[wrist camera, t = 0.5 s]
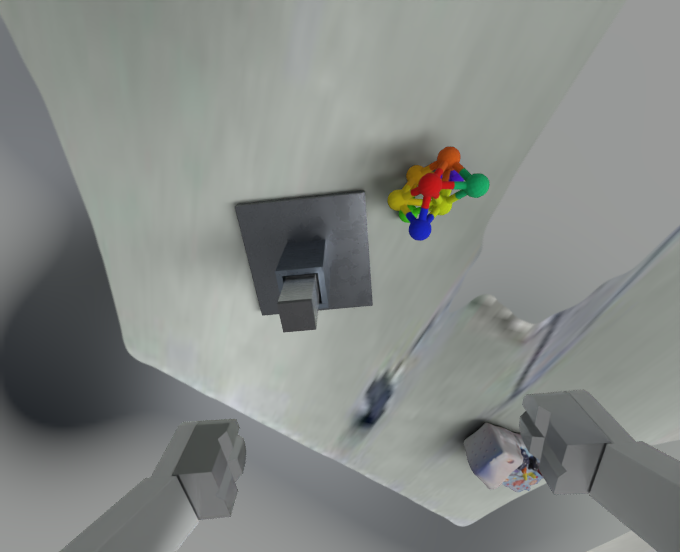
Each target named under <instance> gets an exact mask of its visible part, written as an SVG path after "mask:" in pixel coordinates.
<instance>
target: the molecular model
mask: <svg viewBox="0 0 680 552" xmlns="http://www.w3.org/2000/svg"><path fill="white" fill-rule="evenodd" d="M459 162H460V153H459V151H458V150H457V149H456V148H454V147H445V148H444V149H443V150H441V151H440V152H439V154H438V157H437V161H435V162H433V163H431V164H430V165H428V166H426V167H424V168H423V167H422V166H420V165H414V166H412V167H411V168H409V170H408V172H407V174H406V178H407V181H408V182H407V183H406V185H405V186H404V187H403V189H402V190H394V191H393V192H391V193H390V194H389V196H388V205H389V206H390V208H391V209H393V210H396V211H399V217H400V219H401V220H402V221H403V222H407V223H411V224H410V226H409V234H410V236H411V237H412V238H413V239H415V240H420V241H421V240H424V239H426V238H428V237H429V235H430V233H431V225H430V223H431V222H432V220H433V219H434V218H435V217H436V216H437V215H444V214H447V213H448V212H449V211H450V210H451V208H452V203H453V202H455V201H457V200H459V199H461V198H462V197H464V196H466V195H468V196H470V197H474V198H478V197H480V196H483V195H484V194H485V193H486V192H487V191H488V189H489V180H488V178H487V177H486V176H485V175H483V174H473V175H471V174H470V173H469V172H468V171H467V170H466V169H465V168H464V167H463V166H462V165H461V164H460V163H459ZM435 169H436V171H435V172H431V171H433V170H435ZM441 179H442V180H441ZM464 180H465V182H463V181H464ZM417 186H418V187H417ZM452 189H462V190H460V191H458V192H456V193H455V194H453V195H451V196H449V195H450V193H451V191H452ZM409 190H410V191H409ZM439 192H440V194H439ZM419 194H422V195H423V196H424V197H423V199H415V196H417V195H419ZM431 199H432V200H431ZM414 205H415V206H421V207H418V208H416V207H415V206H414ZM428 211H431V212H430V213H429V214H428ZM418 214H419V219H416V218H417V215H418ZM427 214H428V215H427Z"/></svg>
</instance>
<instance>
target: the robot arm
mask: <svg viewBox="0 0 680 552" xmlns="http://www.w3.org/2000/svg"><path fill="white" fill-rule="evenodd" d="M522 405H523V407H524V408H525V410H526V411H525V412H524V413H523V414H522V415H521V416H520V422H519V428H520V433H521V437H522V440H523V442H524V445H525V446H526V448H527V450H528V452H529V453H530V454H531V455H533V456H534V457H536V458H537V459H539V460H540V463H539V471H540V472H541V474H542V476H543V477H544V479H545V481H546V482H547V484H548V486H549V487H550V489H551V491H552V492H553V494H554V495H559V494H585V493H590V494H589V496H591V497H592V498H593V499H594V500H595V501H597V502H598V503H599V504H600V505H601V506H603V507H604V508H605V509H606V510H608V511H609V512H610V513H611V514H612V515H614V516H615V517H616V518H617V519H619V520H620V521H621V522H622V523H624V524H625V525H626V526H627V527H628V528H630V529H631V530H632V531H633V532H634V533H636V534H637V535H638V536H639V537H640V538H642V539H643V540H644V541H645V542H647V543H648V544H649V545H650V546H651V547H653V548H654V549H655V550H656V551H658V552H680V461H678V460H677V459H674V458H673V457H671V456H669V455H667V454H665V453H663V452H661V451H660V450H658V449H656V448H654V447H652V446H650V445H648V444H646V443H645V442H643V441H639V442H636V441H635V440H634V439H633V438H632V437H631V436H630V435H629V434H628V433H627V432H626V431H625V429H624V428H623V427H622V426H621V425H620V424H619V423H618V422H617V421H616V420H615V419H614V418H613V417H612V416H611V415H610V414H609V413H608V412H607V411H606V410H605V408H604V407H603V406H602V405H601V404H600V403H599V402H598V401H597V400H596V399H595V398H594V397H593V396H592V395H591V394H590V393H589V392H588V391H586V390H584V389H583V390H572V391H564V392H562V391H558V392H548V393H537V394H527V395H526V396H525V397H524V398H523V403H522ZM239 428H240V427H239V425H238V422H237V420H236V419H224V420H205V421H192V422H183V423H182V424H181V425H180V426H178V428H177V430H176V431H175V433H174V435H173V437H172V439H171V441H170V443H169V444H168V446H167V448H166V450H165V452H164V454H163V455H162V457H161V459H160V461H159V463H158V465H157V467H156V469H155V470H154V472H153V474H152V476H151V478H145V479H144V480H142V481H141V482H140V483H139V484H138V485H137V486H136V487H134V488H133V489H132V490H131V491H130V492H128V493H127V494H126V495H125V496H124V497H123V498H121V499H120V500H119V501H118V502H117V503H116V504H114V505H113V506H112V507H111V508H110V509H109V510H107V511H106V512H105V513H104V514H103V515H102V516H100V517H99V518H98V519H97V520H96V521H95V522H94V523H92V524H91V525H90V526H89V527H88V528H86V529H85V530H84V531H83V532H82V533H81V534H79V535H78V536H77V537H76V538H75V539H74V540H72V541H71V542H70V543H69V544H68V545H67V546H65V547H64V548H63V549H62V550H61V551H60V552H176V551H177V550H178V548H179V547H180V546H181V545H182V543H183V542H184V541H185V539H186V538H187V537H188V536H189V534H190V533H191V532H192V531H193V529H194V528H195V527H196V525H197V524H198V523H199V520H202V519H212V518H222V517H231V514H232V510H233V506H234V503H235V499H236V496H237V492H238V489H237V486H236V484H235V482H236V481H237V480H238V479H239V477H240V476H241V475H242V474H243V470H244V467H245V460H246V446H245V442H244V439H243V438H242V437H241V436H239V435H238V431H239Z"/></svg>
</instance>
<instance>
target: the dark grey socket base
mask: <svg viewBox="0 0 680 552" xmlns="http://www.w3.org/2000/svg"><path fill="white" fill-rule="evenodd" d="M235 209H236V213H237V217H238V221H239V225H240V229H241V233H242V237H243V241H244V245H245V249H246V253H247V257H248V261H249V265H250V269H251V273H252V277H253V281H254V285H255V289H256V293H257V297H258V301H259V305H260V309H261V313H262V315H273V314H279V310H278V306H277V303H278V300H279V297H280V294H281V291H282V288H283V285H284V282H285V279H286V276H290V275H300V274H310V273H318V279H319V285H320V297H319V306H318V310H328V309H339V308H350V307H361V306H372V305H373V304H372V290H371V275H370V261H369V246H368V232H367V217H366V203H365V192H364V191H356V192H347V193H338V194H328V195H319V196H309V197H300V198H291V199H281V200H272V201H262V202H253V203H244V204H237V205H236V206H235Z"/></svg>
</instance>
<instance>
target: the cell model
mask: <svg viewBox="0 0 680 552" xmlns="http://www.w3.org/2000/svg"><path fill="white" fill-rule="evenodd" d="M464 447H465V451H466V456H467V460H468V463H469V465H470V467H471V470H472V471H473V473H474V474H475V475H476V476H477V477H478V478H479V479H480V480H481V481H482V482H483V483H484V484H485V485H486V486H487V487H488V488H489V489H496V488H497V487H499V486H500V485H501V484H503V485H504V486H506V487H509V488H510V489H512V490H513V491H515V492H521V491H523V490H528V491H529V490H530V486H531V485H534V484H537V483H538V482H539V481H540V480H541V479H542V478H544V477H543V476H542V474H541V472H540V471H539V463H540V460H539V459H537V458H536V457H534V456H533V455H531V454H530V453H529V452H528V450H527V448H526V446H525V445H524V442H523V440H522V437H521V434H518V433H513V432H511V431H510V430H507V429H505V428H502V427H499V426H494V425H492V424H490V423H485V424H484V425H483V426H482V427H481V428H480V429H479V430H477V431H476V432H475V433H474V434H472V435H470V436H469V437H468V438H466V439H465V440H464Z"/></svg>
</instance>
